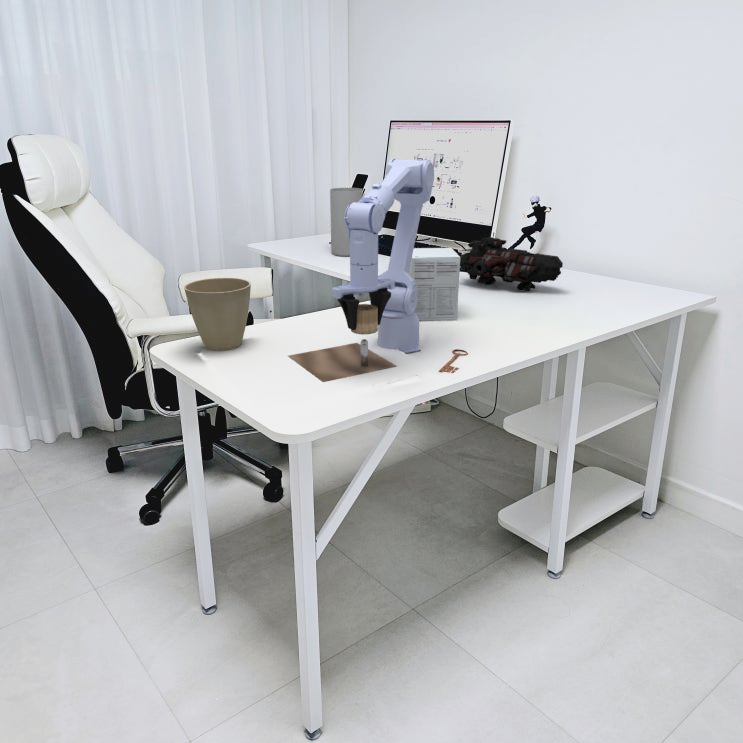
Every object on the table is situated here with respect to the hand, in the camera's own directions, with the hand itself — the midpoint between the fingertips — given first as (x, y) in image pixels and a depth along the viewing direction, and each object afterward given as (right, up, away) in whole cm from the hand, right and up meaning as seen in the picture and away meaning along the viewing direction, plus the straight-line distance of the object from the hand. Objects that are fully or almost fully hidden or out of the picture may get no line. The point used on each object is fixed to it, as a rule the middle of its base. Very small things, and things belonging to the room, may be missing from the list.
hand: (364, 326), depth 140 cm
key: (+21, -8, +10) cm, 24 cm away
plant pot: (-34, -5, +17) cm, 38 cm away
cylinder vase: (-8, +37, +124) cm, 129 cm away
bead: (0, -1, 0) cm, 1 cm away
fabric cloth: (-5, -9, +6) cm, 12 cm away
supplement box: (+18, +6, +45) cm, 49 cm away
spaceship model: (+47, +17, +74) cm, 89 cm away
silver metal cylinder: (0, -8, +3) cm, 9 cm away
